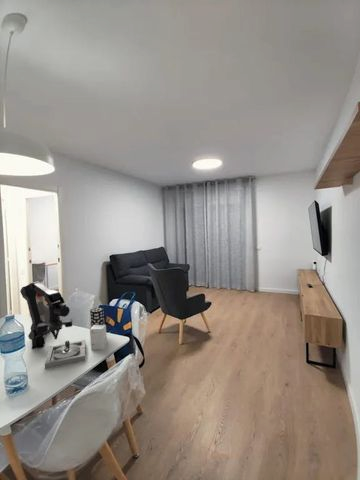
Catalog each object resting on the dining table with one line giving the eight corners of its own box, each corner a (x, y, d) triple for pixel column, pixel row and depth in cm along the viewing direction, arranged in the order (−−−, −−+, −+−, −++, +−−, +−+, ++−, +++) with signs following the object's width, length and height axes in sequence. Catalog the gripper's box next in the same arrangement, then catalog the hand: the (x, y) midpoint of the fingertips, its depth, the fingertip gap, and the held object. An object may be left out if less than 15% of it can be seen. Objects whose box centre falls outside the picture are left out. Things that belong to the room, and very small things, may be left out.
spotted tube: (97, 343, 154) (95, 313, 153) (89, 340, 159) (87, 310, 157) (107, 337, 161) (106, 308, 160) (99, 335, 166) (97, 306, 164)
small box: (107, 344, 153) (106, 324, 152) (104, 349, 147) (102, 328, 146) (94, 344, 153) (93, 324, 152) (90, 349, 147) (89, 329, 146)
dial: (79, 356, 136) (79, 349, 136) (51, 362, 131) (51, 354, 131) (80, 344, 149) (79, 338, 149) (55, 349, 144) (54, 342, 144)
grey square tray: (44, 369, 128) (44, 363, 127) (50, 351, 146) (49, 345, 146) (85, 360, 135) (84, 355, 135) (85, 344, 153) (85, 339, 153)
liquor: (41, 329, 177) (38, 289, 175) (52, 329, 176) (49, 289, 174) (31, 335, 168) (28, 293, 166) (43, 335, 167) (40, 293, 165)
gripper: (33, 321, 131) (35, 348, 132) (70, 315, 138) (72, 342, 139) (37, 314, 141) (39, 339, 143) (72, 309, 148) (73, 333, 149)
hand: (56, 339), depth 143 cm, fingers closed
